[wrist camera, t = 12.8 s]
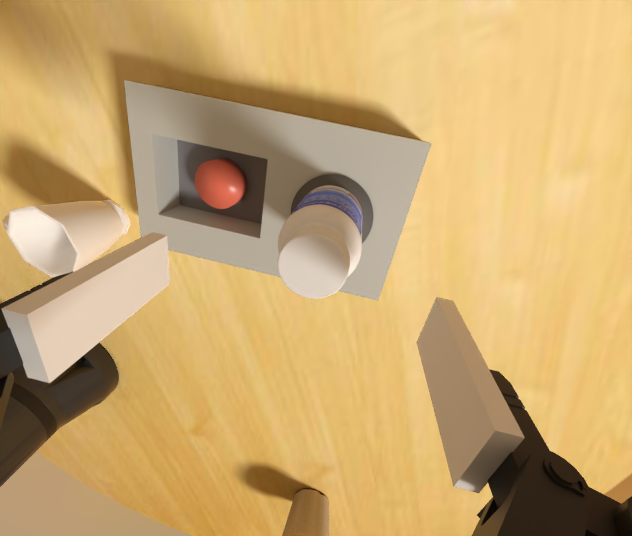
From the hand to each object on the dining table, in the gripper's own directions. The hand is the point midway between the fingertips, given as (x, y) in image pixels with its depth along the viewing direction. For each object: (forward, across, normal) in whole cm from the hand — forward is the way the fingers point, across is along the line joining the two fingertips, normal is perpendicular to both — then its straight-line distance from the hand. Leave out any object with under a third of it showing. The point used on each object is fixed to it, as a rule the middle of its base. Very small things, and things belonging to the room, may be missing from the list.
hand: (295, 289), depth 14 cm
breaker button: (+16, -10, 0) cm, 19 cm away
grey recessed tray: (+16, -5, 0) cm, 17 cm away
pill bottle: (+12, +1, 0) cm, 12 cm away
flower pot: (+17, +8, -53) cm, 56 cm away
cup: (+17, -25, -7) cm, 31 cm away
